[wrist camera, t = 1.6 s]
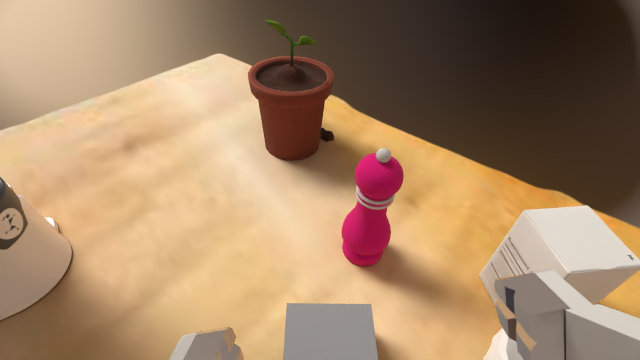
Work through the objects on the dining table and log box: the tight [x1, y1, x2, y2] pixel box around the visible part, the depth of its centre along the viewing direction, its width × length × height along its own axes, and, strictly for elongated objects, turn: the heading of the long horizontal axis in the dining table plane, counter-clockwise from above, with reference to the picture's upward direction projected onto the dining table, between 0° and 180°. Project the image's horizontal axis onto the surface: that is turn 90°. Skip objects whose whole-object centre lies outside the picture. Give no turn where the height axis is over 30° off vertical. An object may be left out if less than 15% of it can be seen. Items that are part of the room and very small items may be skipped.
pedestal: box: [283, 303, 378, 360], centre depth 38 cm, size 10×10×6 cm
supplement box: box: [479, 206, 640, 309], centre depth 42 cm, size 9×9×15 cm
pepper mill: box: [342, 148, 403, 266], centre depth 45 cm, size 7×7×20 cm
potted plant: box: [248, 20, 334, 160], centre depth 65 cm, size 18×22×25 cm
